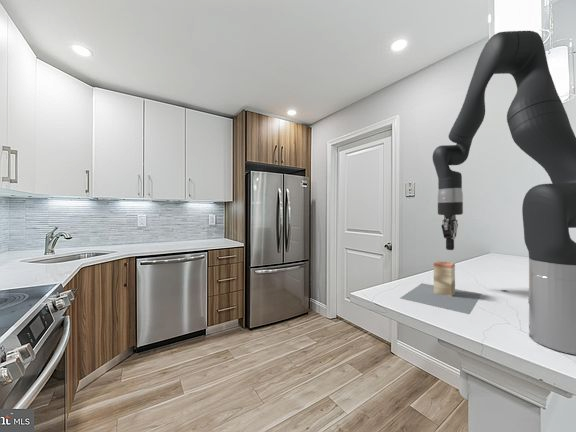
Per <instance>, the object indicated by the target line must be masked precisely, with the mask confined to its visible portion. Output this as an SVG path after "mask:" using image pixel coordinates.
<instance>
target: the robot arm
mask: <svg viewBox="0 0 576 432" xmlns="http://www.w3.org/2000/svg"><path fill="white" fill-rule="evenodd" d="M550 71H551V70H550V68H549V64H548V59H547V54H546V49H545V45H544V41H543V38H542V37H541V35H540V34H539V33H538V32H536V31H534V30H512V31H511V30H509V31H499V32H497V33H495V34H494V35H492V36H491V37H490V38H489V39H488V40H487V41H486V43H485V45H484V47H483V48H482V50H481V52H480V54H479V57H478V58H477V63H476V65H475V68H474V71H473V74H472V76H471V79H470V82H469V85H468V88H467V92H466V94H465V98H464V101H463V103H462V106H461V109H460V110H459V113H458V114H457V118H455V121H454V123H453V125H452V126H451V129H450V131H449V133H448V139H449V141H451V142H452V143H454V144H453V145H452V144H449V145H446V144H445V145H438V146H437V147H435V149H434V150H433V153H432V162H433V166H434V168H435V172H436V175H437V179H438V180H437V182H438V183H437V184H438V186H437V187H438V191H437V215H440V216H443V219H442V224H441V230H442V234H443V238H444V239H445V249H446V250H447V251H453V250H455V239H456V237H457V233H458V227H459V224H458V222H459V220H458V219H457V216H460V215H463V214H464V210H463V209H464V203H463V202H464V201H463V200H464V197H463V195H464V194H463V177H462V173H461V172H459V171H456V170H455V171H454V170H453V169H451V167H450V166H459V165H462V164H464V163H465V162H466V161H467V160H468V157H469V154H470V151H471V150H470V149H471V146H472V142H473V139H474V137H475V135H476V134H477V132H478V130H479V129H480V127H481V125H482V124H483V122H484V119H485V116H486V102H485V101H486V100H485V96H486V90H487V88H488V84H489V82H490V80H491V79H492V78H493V76H494V75H496V74H498V75H499V74H502V75H504V74H505V75H506V74H507V75H508V74H509V75H511V76H512V78H513V79H514V82H515V86H516V89H517V90H516V93H515V96H514V97H513V99H512V101H511V103H510V106H509V108H508V109H507V110H508V111H507V112H506V122H507V126H508V129H509V131H510V135H511V138H512V141H513V142H514V143H515V144H516V145H517V147H518V148H519V149H520V150H521V151H523V152H524V153H525V154H526V155H527V156H529V158H531V159H532V160H534V161H535V162H536V163H537V164H538V165H540V166H541V167H542V168H543V170H545V172H546V173H547V175H548V176H549V179H550V182H551V183H542V184H537V185H534V186H532V187H531V188H530V189H529V190H527V192H526V193H525V194H524V198H523V201H522V204H521V205H522V208H521V209H522V211H521V212H522V213H521V214H522V223H523V236H524V238H523V239H524V244H525V246H526V249H527V251H528V322H529V323H528V324H529V325H528V329H529V330H528V332H529V333H528V335H529V337H530V339H531V340H532V341H534V342H536V343H537V344H539V345H542V346H544V347H547V348H549V349H552V350H555V351H558V352H562V353H566V354H571V355H576V241H574V240H573V239H572V238H571V235H570V229H571V228H572V229H574V228H575V229H576V134H575V133H574V130H573V128H572V125H571V123H570V119H569V117H568V113H567V111H566V109H565V107H564V105H563V102H562V100H561V98H560V95H559V93H558V91H557V89H556V85H555V83H554V80H553V77H552V74H551V72H550Z"/></svg>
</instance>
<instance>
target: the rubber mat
mask: <svg viewBox="0 0 576 432" xmlns="http://www.w3.org/2000/svg"><path fill="white" fill-rule="evenodd" d="M481 296H482V293H479V292H474V291H468V290H463V289H462V290H461V289H458V288H457V289H456V288H455V293H454V294H453V295H452V297H451V296H446V295H441V294H436V293H434V284H433V285H432V284H429V283H420V284H419V285H417V286H415V287H414V288H412V289H411V290H410V291H408V292H407V293H405V294H404V295H402V296H400V297H399V299H401V300H406V301H411V302H413V303H417V304H418V303H419V304H422V305H428V306H432V307H436V308H440V309H444V310H449V311H453V312H457V313H462V314H466V315H470V314H471V312H472V311H473V309H474V308H475V305H476V304H477V303H478V301H479V299H480V298H481Z"/></svg>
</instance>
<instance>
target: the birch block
mask: <svg viewBox="0 0 576 432" xmlns="http://www.w3.org/2000/svg"><path fill="white" fill-rule="evenodd" d="M433 285H434V293H436V294H441V295H446V296H451V297H452V295H453V294H454V293H455V289H456V263H455V262H450V261H441V260H438V261H436V262H433Z"/></svg>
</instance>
